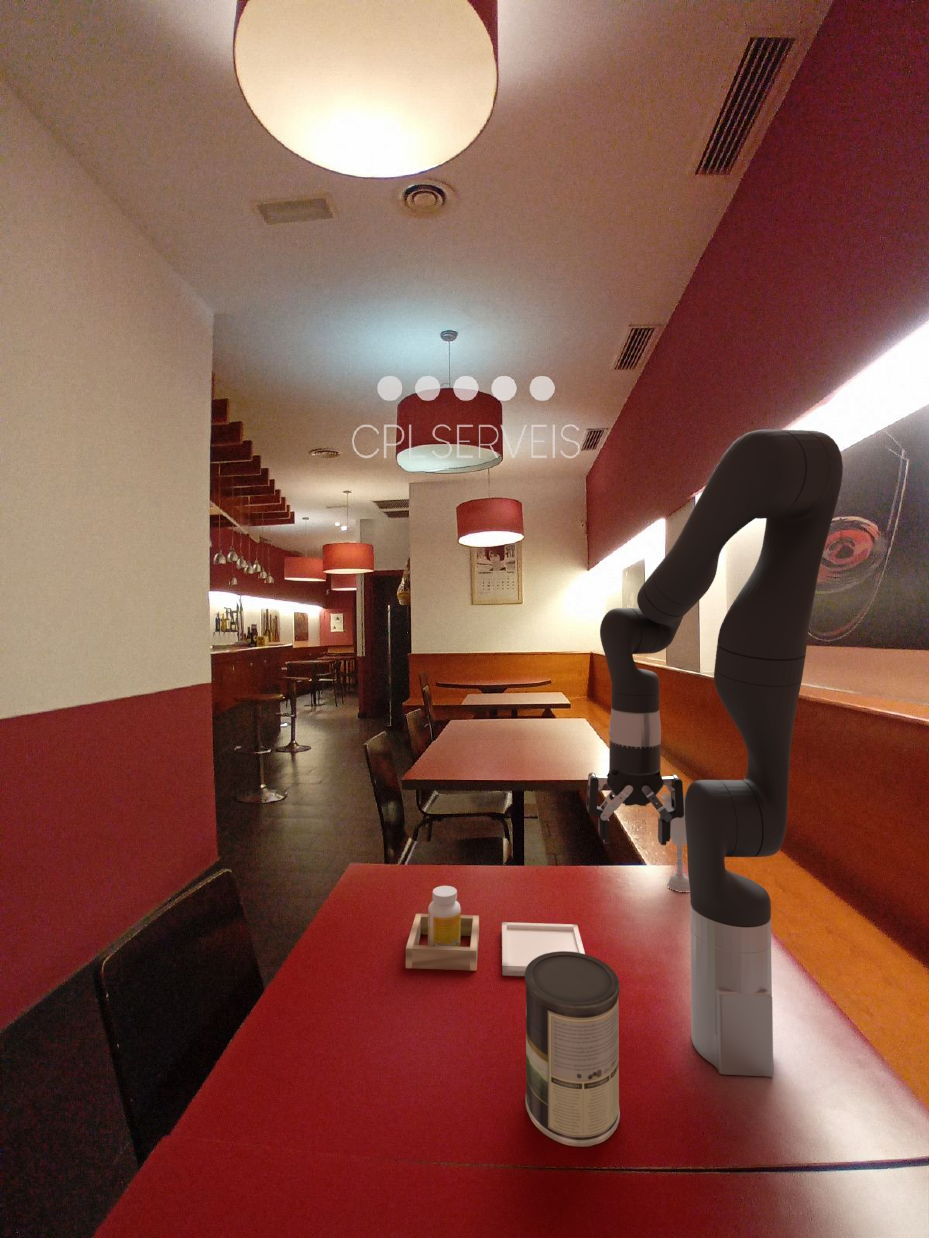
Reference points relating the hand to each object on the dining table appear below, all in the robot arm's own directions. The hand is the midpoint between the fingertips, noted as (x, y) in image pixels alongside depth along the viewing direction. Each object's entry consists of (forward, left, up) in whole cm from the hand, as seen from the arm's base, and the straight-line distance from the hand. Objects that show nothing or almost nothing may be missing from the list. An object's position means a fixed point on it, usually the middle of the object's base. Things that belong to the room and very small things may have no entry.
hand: (634, 842), depth 88 cm
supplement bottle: (+5, +30, -20) cm, 36 cm away
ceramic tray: (+5, +14, -20) cm, 25 cm away
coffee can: (-25, +13, -20) cm, 35 cm away
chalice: (+31, -16, -20) cm, 40 cm away
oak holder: (+5, +30, -20) cm, 36 cm away
